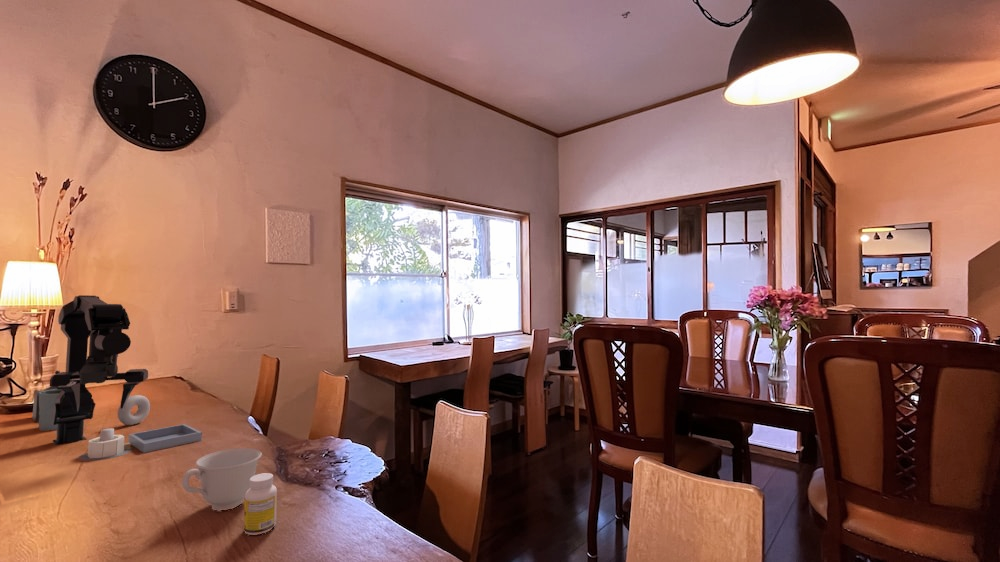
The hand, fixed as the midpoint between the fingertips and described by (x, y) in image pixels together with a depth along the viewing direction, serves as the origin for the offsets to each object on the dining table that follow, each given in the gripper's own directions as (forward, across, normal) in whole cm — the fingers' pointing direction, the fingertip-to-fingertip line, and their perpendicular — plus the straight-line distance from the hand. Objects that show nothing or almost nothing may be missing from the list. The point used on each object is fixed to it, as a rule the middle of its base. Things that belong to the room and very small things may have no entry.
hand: (99, 409), depth 116 cm
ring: (+13, +1, +4) cm, 14 cm away
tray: (+14, +13, +10) cm, 21 cm away
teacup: (+13, +32, -44) cm, 56 cm away
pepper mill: (+15, -25, +62) cm, 68 cm away
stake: (+14, +1, +4) cm, 14 cm away
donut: (+14, -1, +38) cm, 41 cm away
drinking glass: (+14, -22, +44) cm, 51 cm away
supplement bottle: (+13, +39, -57) cm, 70 cm away
